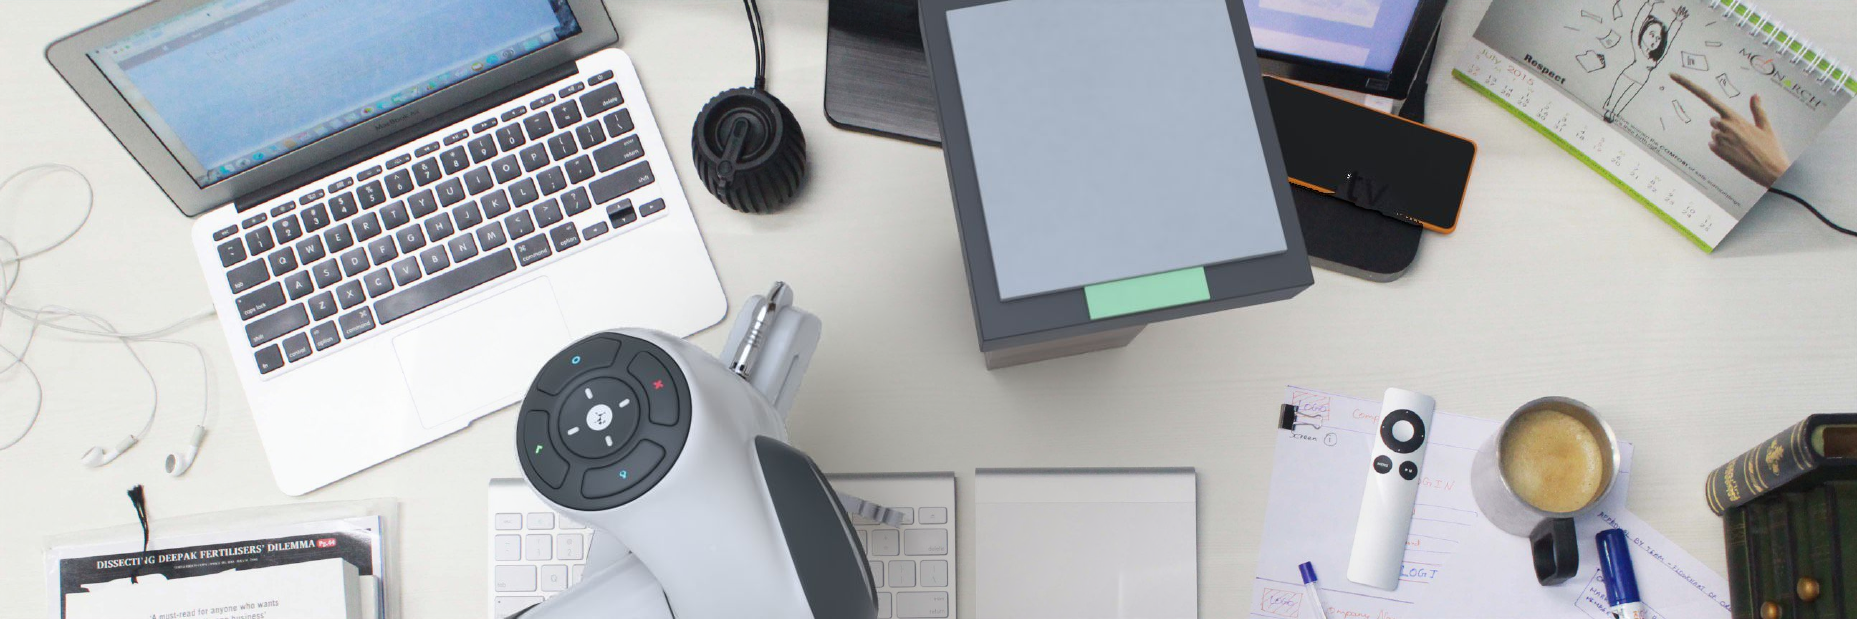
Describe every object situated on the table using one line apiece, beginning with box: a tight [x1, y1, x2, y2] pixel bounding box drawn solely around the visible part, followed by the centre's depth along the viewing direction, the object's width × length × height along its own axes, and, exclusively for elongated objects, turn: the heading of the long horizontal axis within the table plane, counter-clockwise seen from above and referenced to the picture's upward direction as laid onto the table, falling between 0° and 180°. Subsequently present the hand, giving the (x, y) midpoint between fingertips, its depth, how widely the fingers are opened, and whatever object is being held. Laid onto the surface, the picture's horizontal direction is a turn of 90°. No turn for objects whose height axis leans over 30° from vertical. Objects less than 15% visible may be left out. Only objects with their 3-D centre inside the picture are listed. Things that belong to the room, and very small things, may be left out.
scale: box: [917, 0, 1316, 354], centre depth 46 cm, size 16×14×4 cm
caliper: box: [833, 489, 905, 529], centre depth 68 cm, size 20×1×6 cm, turn 72°
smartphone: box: [1262, 75, 1478, 235], centre depth 76 cm, size 8×17×1 cm, turn 70°
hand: (752, 471), depth 68 cm, fingers closed on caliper, 1 cm apart
